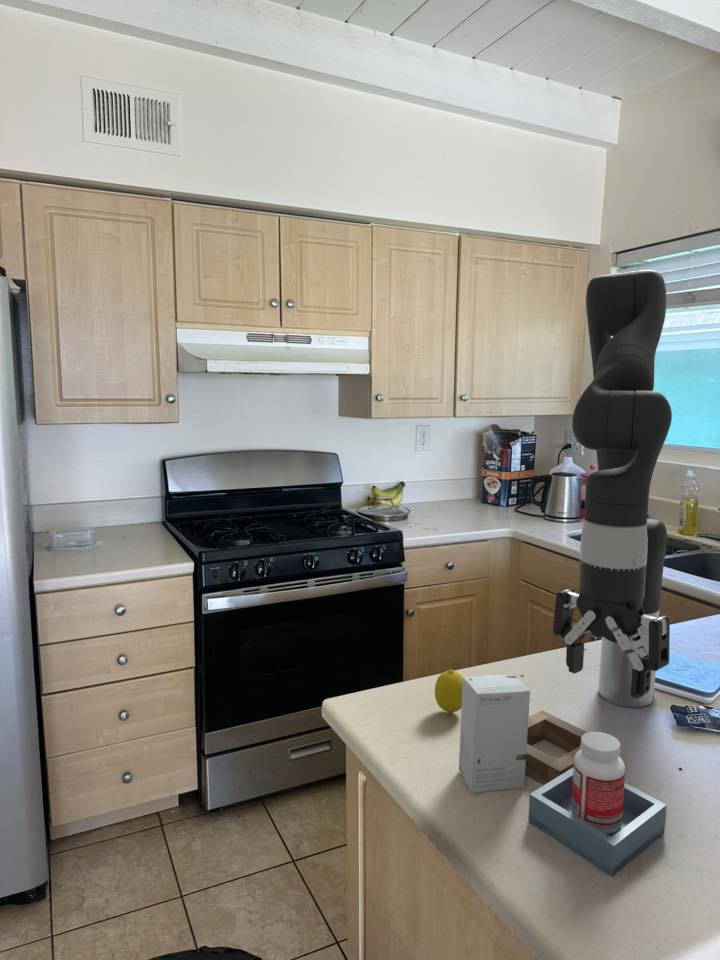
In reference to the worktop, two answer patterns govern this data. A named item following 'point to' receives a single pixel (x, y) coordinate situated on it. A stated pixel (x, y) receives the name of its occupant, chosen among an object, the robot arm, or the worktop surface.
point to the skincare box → (493, 732)
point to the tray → (600, 849)
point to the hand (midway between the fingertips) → (605, 683)
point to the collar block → (557, 734)
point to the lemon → (449, 691)
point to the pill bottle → (599, 782)
